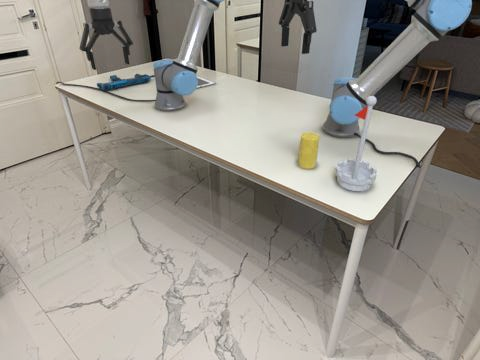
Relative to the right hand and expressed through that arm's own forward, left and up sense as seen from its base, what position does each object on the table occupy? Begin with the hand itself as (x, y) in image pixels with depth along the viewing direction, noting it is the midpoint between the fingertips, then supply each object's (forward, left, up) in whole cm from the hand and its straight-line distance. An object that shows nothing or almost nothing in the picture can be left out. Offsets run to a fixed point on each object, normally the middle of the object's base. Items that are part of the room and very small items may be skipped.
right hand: (294, 49), depth 125 cm
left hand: (+38, +62, -8) cm, 73 cm away
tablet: (+95, +14, -36) cm, 102 cm away
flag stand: (-39, -2, -36) cm, 53 cm away
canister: (-22, +5, -36) cm, 42 cm away
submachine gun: (+109, +49, -36) cm, 125 cm away
